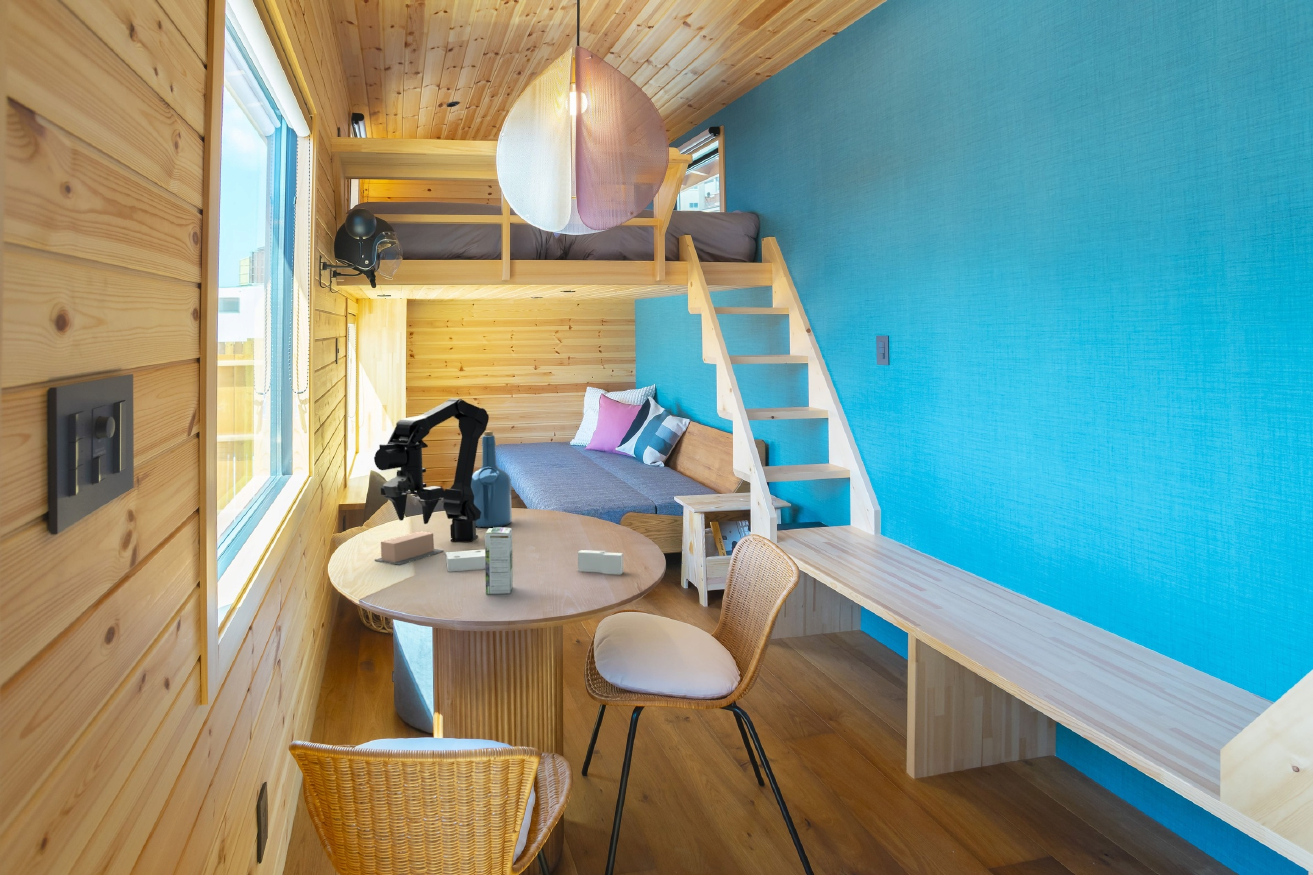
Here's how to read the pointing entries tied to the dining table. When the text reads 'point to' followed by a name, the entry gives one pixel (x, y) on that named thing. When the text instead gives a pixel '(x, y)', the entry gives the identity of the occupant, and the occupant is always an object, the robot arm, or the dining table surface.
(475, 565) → the bracket
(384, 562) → the mat
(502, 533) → the syrup box
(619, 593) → the dining table surface
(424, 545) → the terracotta block
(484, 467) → the blue bottle
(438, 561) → the dining table surface
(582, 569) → the white stepped block
